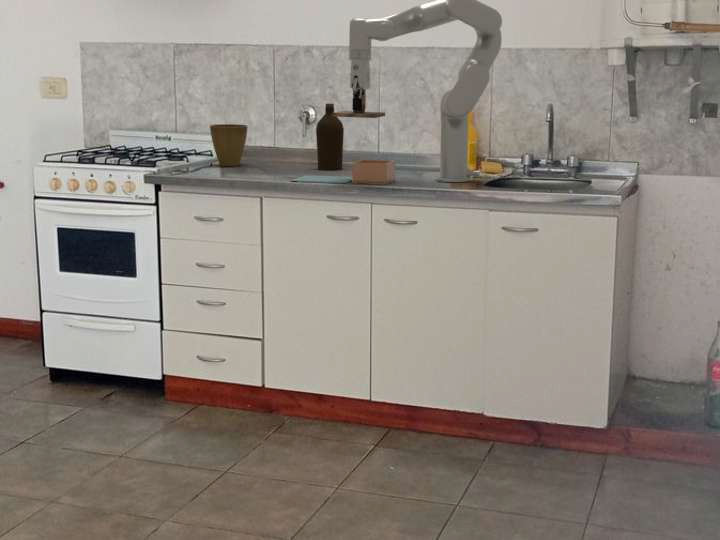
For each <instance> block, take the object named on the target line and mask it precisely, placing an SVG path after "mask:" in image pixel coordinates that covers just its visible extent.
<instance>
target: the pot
mask: <svg viewBox="0 0 720 540" xmlns="http://www.w3.org/2000/svg"><path fill="white" fill-rule="evenodd" d="M352 177H353V181H352V184H357V183H370V184H369V185H389V184H391V183H394V182H395V181H396V160H391V159H390V160H389V159H386V160H384V159H382V160H381V159H360V160H357V161H354V162H352ZM390 182H391V183H390ZM388 183H389V184H388Z"/></svg>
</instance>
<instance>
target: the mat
mask: <svg viewBox="0 0 720 540" xmlns="http://www.w3.org/2000/svg"><path fill="white" fill-rule="evenodd" d="M352 180H353V176H336V175H331V176H329V175H303V176H300V177H297V178H294V179H292V180H290V182H291V181H297V182H296V183H311V182H316V184H341V183H346V184H349V183H351V182H353V181H352ZM350 181H351V182H350ZM348 182H349V183H348Z"/></svg>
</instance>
